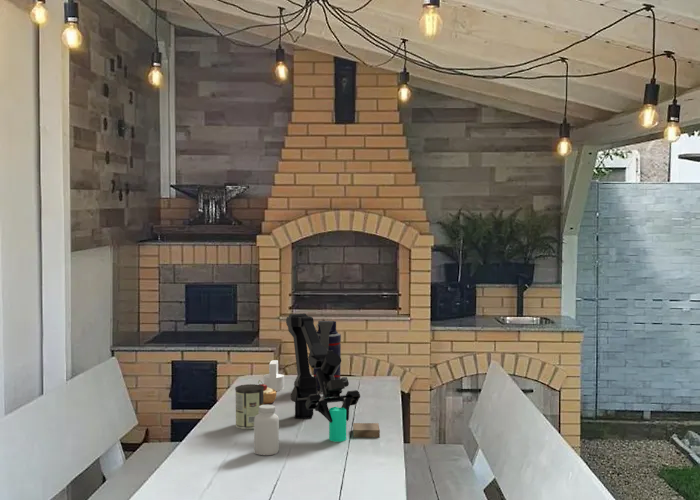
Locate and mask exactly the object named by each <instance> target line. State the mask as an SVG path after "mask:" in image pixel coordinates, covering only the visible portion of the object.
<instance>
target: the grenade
mask: <svg viewBox="0 0 700 500" xmlns="http://www.w3.org/2000/svg"><path fill="white" fill-rule="evenodd" d="M315 329H316V331H317V334H318V337H319V339H320V342H321V344H322V345H323V346H324V347H325V348H327V350H328V351H331V350H333V353H336V354H337V355H339V356H340V357H341V353H342V352H341V350H342V349H341V348H342V347H341V346H342V345H341V342H342V340H341V339H342V336H341V335H342V334H341V333H339V331H337V321H335V320H318V322H317V323H316V325H315ZM341 358H342V357H341ZM341 365H342V363H340V365H339V367H338V369H337V371H336V373H335V374H333V375H334V378H335V380H337V379H341ZM312 369H313V371H312V373H313V375H312V377H315V379H316V372H317V370H318V369H319V368H312ZM316 385H317V388H318V391H320V388H321V387H320V384H319V381H318V379H316Z"/></svg>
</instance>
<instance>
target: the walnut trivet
mask: <svg viewBox="0 0 700 500" xmlns="http://www.w3.org/2000/svg"><path fill="white" fill-rule="evenodd" d="M352 427H353V428H352V433H353V438H380V437H381V436H380V433H381V430H380V425H379V423H378V422H375V423H374V422H361V423H360V422H353V423H352Z"/></svg>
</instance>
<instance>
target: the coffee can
mask: <svg viewBox="0 0 700 500" xmlns="http://www.w3.org/2000/svg"><path fill="white" fill-rule="evenodd" d="M234 389H235V428H238V429H240V428H241V430H254V418H255V416H256V415H257V414H259V413H258V412H259V406H261V405H264V404H263V397H264V395H263V390H264V387H263V386H261V385H259V384H251V383H249V384H241V385H237V386H235V388H234Z"/></svg>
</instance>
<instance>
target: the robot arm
mask: <svg viewBox="0 0 700 500" xmlns="http://www.w3.org/2000/svg"><path fill="white" fill-rule="evenodd" d="M285 322H286V326H287V331H288V333H289V334H290V335H291V336H292V338H293V344H294V355H295V362H296V363H295V364H296V372H297V375H296V378H295V380H294V384H293V385H294V387H293V389H292V391H291V393H290V399H291V401H292V402H294V419H312V418H313V416H314V411H316V412H319V414H321V415H322V416H324V418H325V419H326V420H327V421H328V423H329V422H330V423H332V418H331V415H330V412H329V409H330V408H329V405H328V404H330V403H340V402H341V403H342V405H341V407H340V408H343V407H344V408H345V409H346V422H349V418H350V407H351V406H355V405H357V403H358V402H359V400H360V398H361V393H360V391H359V390H356V389H355V390H347V392H346V393H345V394H344V395H341V394H342V393H343V389H345V388H347V387H349V383H350V382H349V380H348V377H347V376H343V377H340V379H337V380H335V378H334V375H333V374H335V373H336V371H337V369H338V367H339V365H340V366H341V364H342V363H341V362H342V357H340V356H339V355H337V354H336V353H333V350H331V351H328V350H327V348H325V347H324V346H323V345H322V344H321V342H320V339H319V337H318V334H317V331H318V330H317V331H316V329H317V328H316V325H315V323H314V322H315V321H314V318H313V316H311V315H307V314H306V313H305V312H304V313H290V314H288V317H286V319H285ZM315 328H316V329H315ZM308 350H309V354H308ZM340 363H341V364H340ZM310 367H311V368H312V369H313V368H319V369H318V370H317V372H316V379H318V381H319V384H320V387H321V388H320V389H319V390H318V388H317V385H316V379H315V377H313V375H312V374H311V371H310ZM318 391H319V392H320V393H321V394H322V396H321V394H320V393H318Z"/></svg>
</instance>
